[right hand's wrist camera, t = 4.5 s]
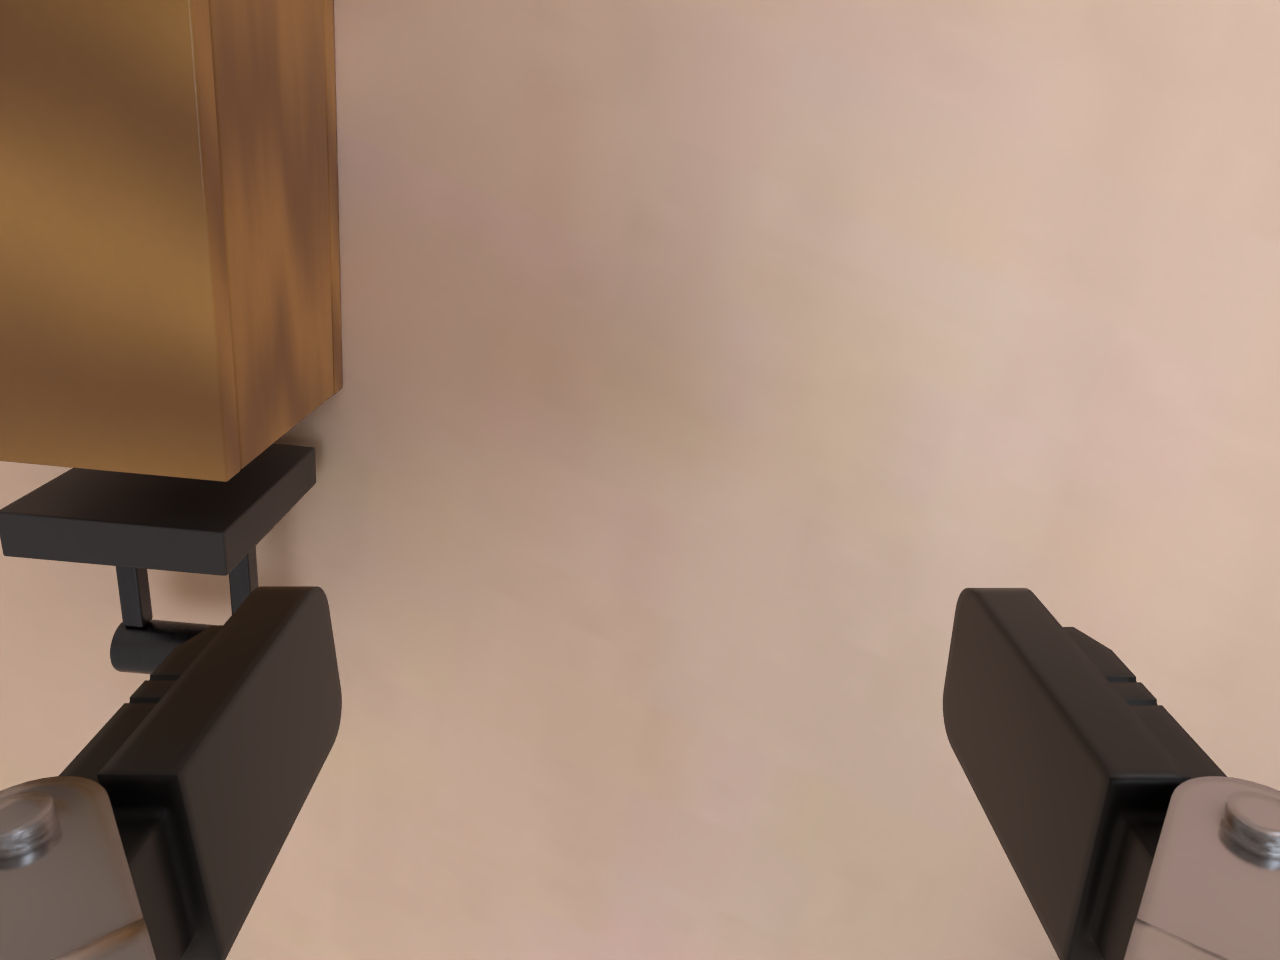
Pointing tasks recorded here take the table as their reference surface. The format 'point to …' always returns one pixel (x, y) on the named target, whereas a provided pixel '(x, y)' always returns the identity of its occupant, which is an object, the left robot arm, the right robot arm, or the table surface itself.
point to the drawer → (158, 535)
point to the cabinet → (166, 231)
